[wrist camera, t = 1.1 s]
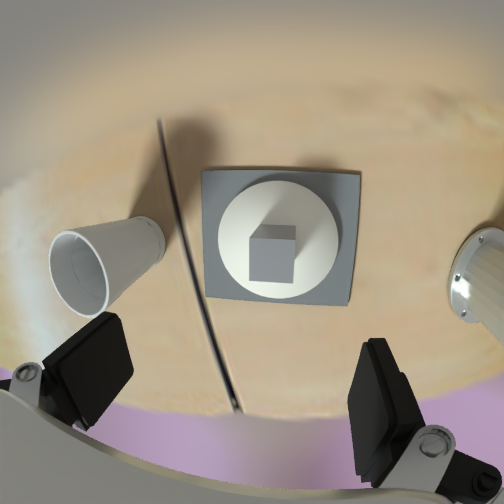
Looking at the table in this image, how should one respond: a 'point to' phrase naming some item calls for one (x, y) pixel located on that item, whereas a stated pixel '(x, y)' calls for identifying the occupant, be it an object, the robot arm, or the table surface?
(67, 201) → the table surface
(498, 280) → the robot arm
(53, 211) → the table surface
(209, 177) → the mat
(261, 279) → the lid
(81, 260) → the cup
